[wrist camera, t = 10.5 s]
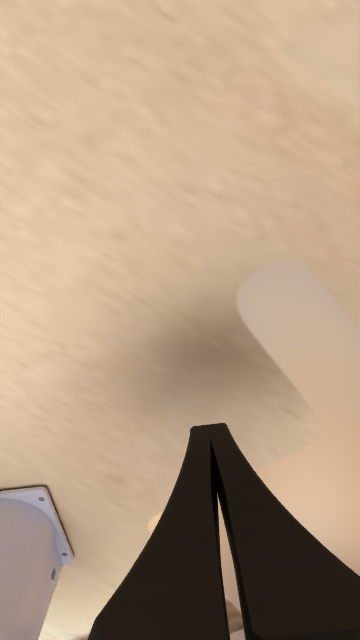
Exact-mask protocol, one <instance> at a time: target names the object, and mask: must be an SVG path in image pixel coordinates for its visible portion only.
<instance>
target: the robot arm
mask: <svg viewBox="0 0 360 640" xmlns="http://www.w3.org/2000/svg"><path fill="white" fill-rule="evenodd" d="M217 493H218V497H219V501H220V506H221V511H222V515H223V519H224V524H225V528H226V532H227V537H228V541H229V545H230V549H231V554H232V558H233V564H234V569H235V574H236V581H237V586H238V594H239V599H240V606H241V613H242V620H243V626H244V633H245V639H246V640H360V576H358V575H357V574H356V573H355V572H354V571H353V570H351V569H350V568H349V567H348V566H346V565H345V564H344V563H343V562H342V561H340V560H339V559H338V558H337V557H336V556H335V555H334V554H333V553H331V552H330V551H329V550H328V549H327V548H326V547H324V546H323V545H322V544H321V543H320V542H319V541H318V540H317V539H316V538H315V537H314V536H313V535H312V534H311V533H310V532H309V531H308V530H306V529H305V528H304V527H303V526H302V525H301V524H300V523H299V522H298V521H297V520H296V519H295V518H294V517H293V516H292V515H291V514H290V513H289V511H288V510H287V509H285V507H284V506H283V505H282V504H281V503H280V502H279V501H278V499H277V498H276V497H275V496H274V495H273V494H272V493H271V491H270V490H269V489H268V488H267V487H266V485H265V484H264V483H263V482H262V480H261V479H260V478H259V476H257V474H256V472H255V471H254V470H253V468H252V467H251V465H250V464H249V463H248V461H247V460H246V458H245V457H244V455H243V454H242V452H241V451H240V449H239V447H238V446H237V444H236V442H235V441H234V439H233V437H232V435H231V433H230V431H229V429H228V427H227V425H226V424H225V423H218V424H210V425H201V426H193V427H192V428H191V429H190V437H189V443H188V447H187V451H186V455H185V458H184V461H183V464H182V468H181V471H180V474H179V476H178V479H177V481H176V484H175V487H174V489H173V492H172V494H171V496H170V499H169V501H168V503H167V505H166V508H165V510H164V512H163V514H162V516H161V518H160V520H159V522H158V524H157V526H156V527H155V529H154V531H153V533H152V535H151V537H150V539H149V540H148V542H147V544H146V545H145V547H144V549H143V551H142V552H141V554H140V555H139V557H138V558H137V560H136V562H135V563H134V565H133V566H132V568H131V569H130V571H129V573H128V574H127V576H126V577H125V579H124V580H123V582H122V583H121V585H120V586H119V587H118V589H117V590H116V591H115V593H114V594H113V596H112V597H111V598H110V600H109V601H108V602H107V604H106V605H105V606H104V608H103V609H102V611H101V612H100V613H99V615H98V616H97V617H96V619H95V621H94V624H93V626H92V629H91V632H90V634H89V637H88V640H230V635H229V627H228V619H227V611H226V602H225V594H224V586H223V578H222V569H221V556H220V537H219V516H218V498H217ZM73 560H74V556H73V554H72V551H71V549H70V546H69V544H68V541H67V539H66V536H65V534H64V531H63V529H62V526H61V523H60V521H59V518H58V516H57V513H56V511H55V508H54V506H53V503H52V501H51V498H50V496H49V493H48V491H47V489H46V488H45V487H33V488H24V489H15V490H6V491H0V640H38V638H39V635H40V632H41V629H42V626H43V623H44V620H45V617H46V614H47V611H48V608H49V605H50V602H51V599H52V596H53V593H54V590H55V586H56V583H57V580H58V577H59V574H60V571H61V568H62V565H69V564H71V563H72V562H73Z"/></svg>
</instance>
